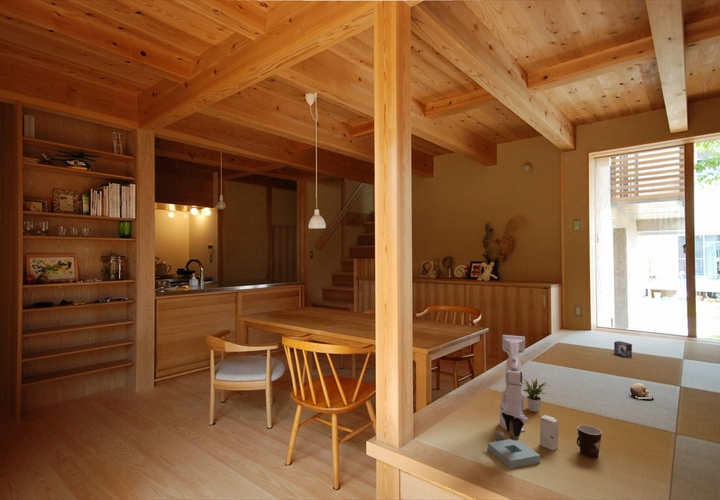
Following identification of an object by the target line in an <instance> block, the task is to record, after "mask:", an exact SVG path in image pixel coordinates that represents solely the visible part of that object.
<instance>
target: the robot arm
mask: <svg viewBox="0 0 720 500" xmlns="http://www.w3.org/2000/svg"><path fill="white" fill-rule="evenodd" d="M501 341H502V342H501V347H502V350H503V351H504V352H506V353H507V355H508V358H507V359H506V371H505V372H504V373H505V376H504V379H505V388H504V389H503V390H502V391H501V403H500V404H499V422H498V423H497V424H498V426H500V427H501V428H502V429H504V430H506V431H507V432H508V433H509V424H510V421H512V424H513V428H514V436H515V437H517V436H519V437H520V436H521V432H525V431H526V429H525V428H524V426H525V424H529V417H527V416H526V415H525V414H524V412H523V411H524V410H525V393H524V391H522V390H523V389H522V386H523V385H524V374H523V370H522V361H521V359H520V358H519V355H520V354H522V353H524V352H525V349H526V336H524V335H522V336H521V335H510V334H502V336H501Z"/></svg>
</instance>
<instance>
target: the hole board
mask: <svg viewBox="0 0 720 500" xmlns="http://www.w3.org/2000/svg"><path fill="white" fill-rule="evenodd" d="M487 451H488V452H490V453H491V454H492V455H493V456H494V457H496V458H497V459H498V460H499V461H500V462H501V463H503V464H504V465H505V466H506V467H508V468H509V469H515V468H516V469H517V468H521V467H527V466H531V465H535V464H540V463H541V455H540V454H539V453H538V452H536V451H535V450H533V449H532V448H531V447H529V445H526V444H525V443H524V442H522V441H521V440H520V439H519V440H517V441H515V440H511V439H510V438H509V439H504V440H501V441H496V442H495V441H490V442H487Z"/></svg>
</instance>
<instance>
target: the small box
mask: <svg viewBox="0 0 720 500" xmlns="http://www.w3.org/2000/svg"><path fill="white" fill-rule="evenodd" d="M613 343H614V344H613V345H614V346H613V351H614V353H613V354H614V355H616V356H619V357H623V358H625V357H626V358H627V357H630V358H633V344H632V343H629V342H625V341H621V340H618V341H614V342H613ZM627 359H628V358H627Z"/></svg>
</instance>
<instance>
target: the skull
mask: <svg viewBox="0 0 720 500" xmlns="http://www.w3.org/2000/svg"><path fill="white" fill-rule="evenodd" d="M629 391H630V392H631V394H632V395H633V396H637V397H649V396H652V395H651V393H650V391H649V390H648V389H647V387H646V386H645V385H644V384H642V383H634V384H631V385H630V388H629ZM630 392H629V393H630ZM633 396H632V397H633Z"/></svg>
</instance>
